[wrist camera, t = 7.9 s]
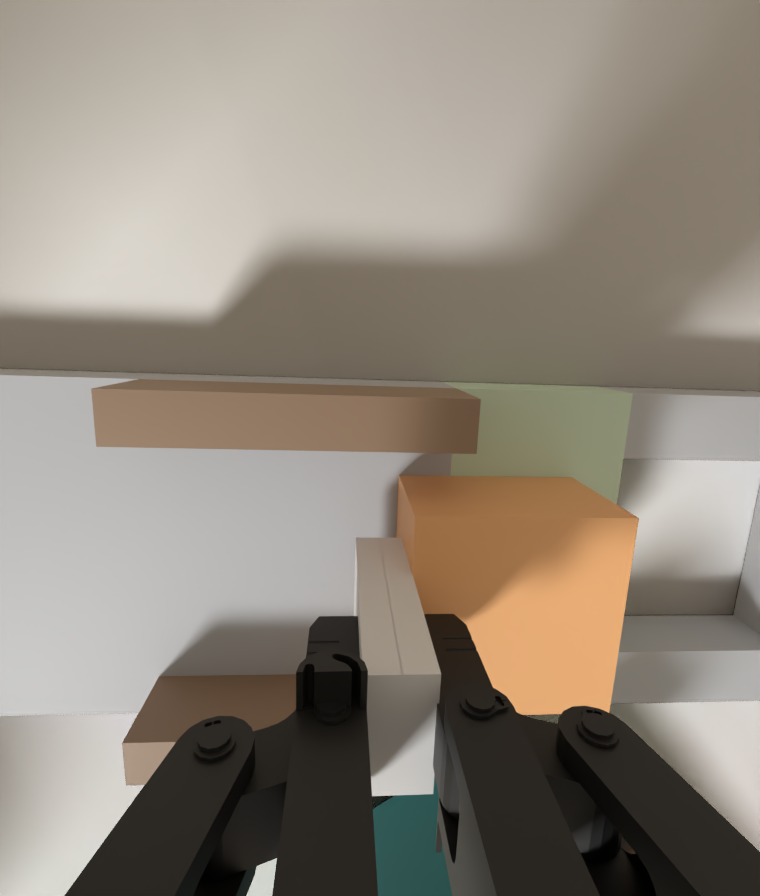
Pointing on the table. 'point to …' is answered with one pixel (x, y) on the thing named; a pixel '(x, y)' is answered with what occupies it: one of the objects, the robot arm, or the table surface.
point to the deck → (293, 529)
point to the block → (525, 579)
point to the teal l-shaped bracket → (409, 847)
